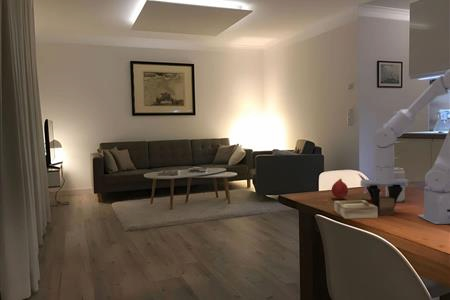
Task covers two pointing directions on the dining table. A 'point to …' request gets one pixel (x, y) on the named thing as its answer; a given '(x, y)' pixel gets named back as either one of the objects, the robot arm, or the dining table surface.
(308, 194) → the dining table surface
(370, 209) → the beech base
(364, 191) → the lily
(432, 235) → the dining table surface
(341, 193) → the onion
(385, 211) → the walnut block
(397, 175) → the beverage can
